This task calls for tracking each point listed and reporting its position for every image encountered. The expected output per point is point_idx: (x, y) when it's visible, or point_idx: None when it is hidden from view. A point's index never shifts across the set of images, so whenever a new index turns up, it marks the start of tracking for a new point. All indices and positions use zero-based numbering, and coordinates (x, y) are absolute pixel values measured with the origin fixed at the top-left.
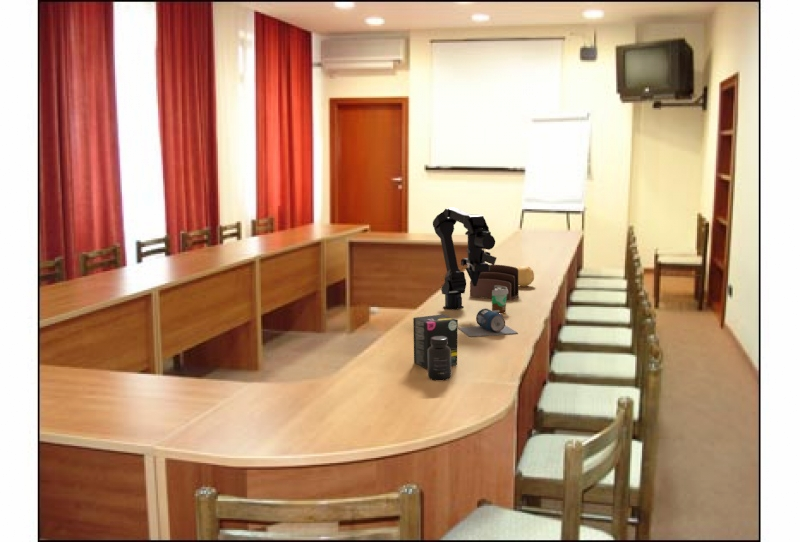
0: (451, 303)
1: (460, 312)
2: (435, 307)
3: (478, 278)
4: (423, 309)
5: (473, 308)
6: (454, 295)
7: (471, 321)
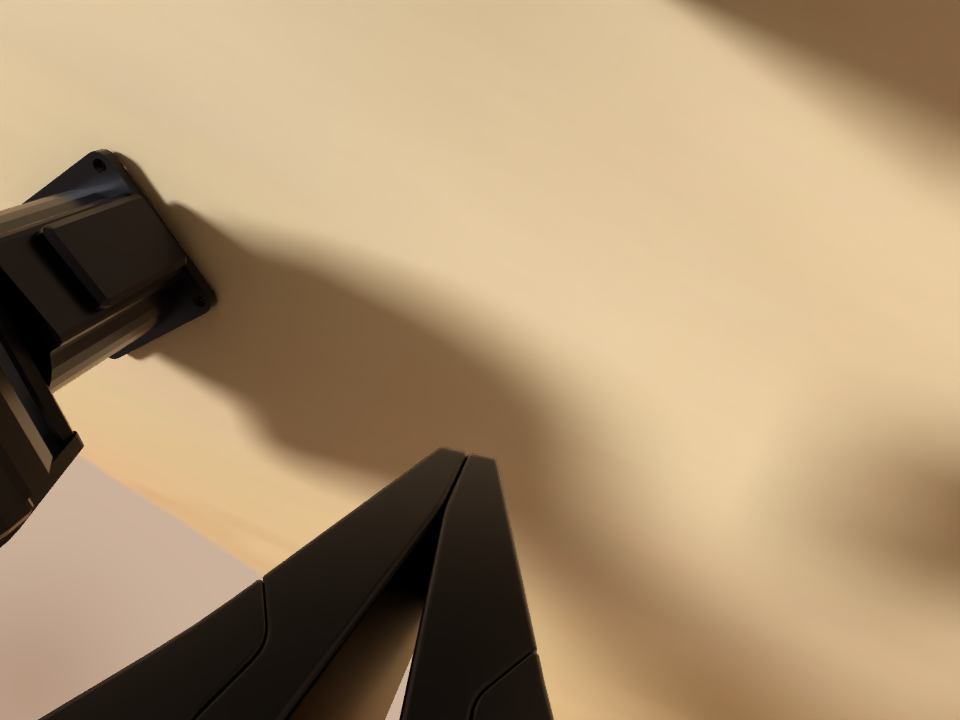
0: (134, 333)
1: (339, 294)
2: (81, 386)
3: (536, 646)
4: (154, 494)
5: (153, 41)
6: (60, 352)
7: (821, 410)
